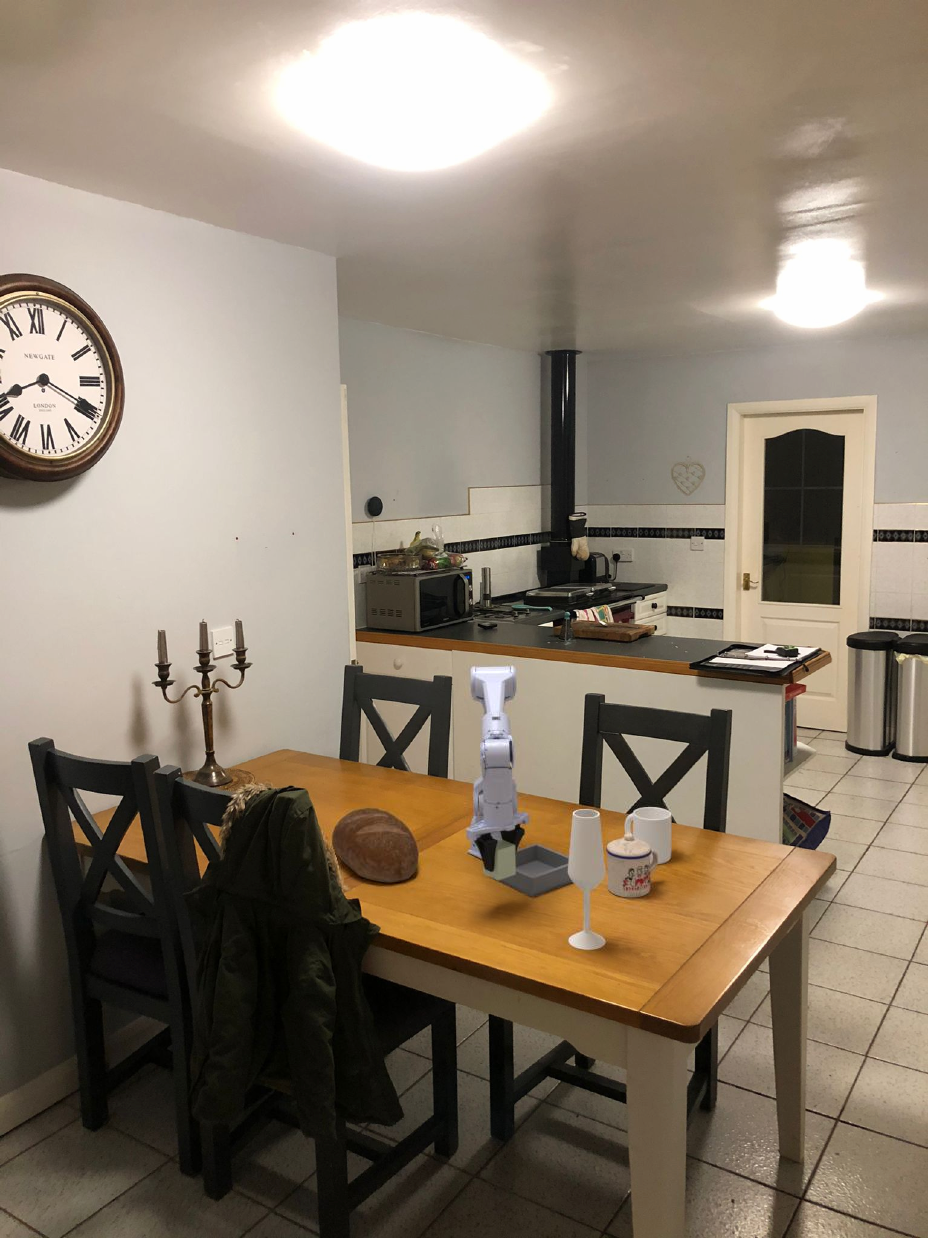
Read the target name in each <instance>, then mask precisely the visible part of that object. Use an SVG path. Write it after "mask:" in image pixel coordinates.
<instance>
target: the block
mask: <svg viewBox="0 0 928 1238" xmlns="http://www.w3.org/2000/svg"><path fill="white" fill-rule="evenodd" d="M482 869H483V870H482V872H483V874H484V875H486V876H487V877H488V878H490V877H492V878H491V879H493V878H494V879H493V880H495V879H496V880H495V881H497V880H501V879H504V878H507V877H510V876H513V875H515V874H516V865H515V845H514V844H512V843H509V842H507V841H504V840H502V839H498V843H497V846H496V850H495V866H494V871H492V872H490V871H488V870H486V869H485V868H484V864H483V863H482Z"/></svg>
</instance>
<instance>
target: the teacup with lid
mask: <svg viewBox="0 0 928 1238" xmlns="http://www.w3.org/2000/svg"><path fill="white" fill-rule="evenodd" d="M605 851H606V852H607V855H606V856H607V862H606V863H607V866H606V868H607V870H606V871H607V874H606V875H607V881H606V882H607V885H606V886H607V889H608V891H609V892H610V893H612V894H613V895H616V896H618V897H621V898H632V899H633V898H639V897H644V896H646V895H647V894H649V892H650V891H651V874H652V873H653V872H654V871H655V870H656V868H657V865H658V864H657V863H658V854H657V852H656V851H654V850H652V849H651V847H650V846H649V845H648V844H647V843H646V842H643V841H640V840H638V839H636V838H634V836H633V833H632V834H630V833H627V834H626V833H625V834H624V835H623V837H622V838H619V839H615V840H612V841H610V842H609V843H608V844H607V845H606V848H605ZM650 854H653V861H652V864H650Z"/></svg>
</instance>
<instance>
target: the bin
mask: <svg viewBox="0 0 928 1238" xmlns="http://www.w3.org/2000/svg"><path fill="white" fill-rule="evenodd" d="M568 863H569V855H566V854H564V853H562V852H559V851H557V850H554V849H552V848H549V847H546V846H544V845H542V844H539V843H537V842H536V843H533V844H531V845H527V846H525V847H522V848H517V852H516V855H515V865H516V874H515V875H513V876H510V877H507V878H504V879H501V880H496V879H494V878H492V877H489V878H491V879H493V880H495V881H497V882H499V883H501V884H503V885H505V886H507V887H509V888H512V889H514V890H517V892H521V893H523V894H524V895H527V896H528V897H531V898H536V897H538V896H541V895H543V894H545V893H549V892H551V891H553V890H556V889H559V888H561V887H564V886H567V885H569V884H572V883H573V882H572V880H571V879H570V877H569V875H568ZM573 884H574V883H573Z"/></svg>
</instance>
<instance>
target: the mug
mask: <svg viewBox="0 0 928 1238" xmlns="http://www.w3.org/2000/svg"><path fill="white" fill-rule="evenodd" d="M631 826H632V830H631ZM624 832H625V834H627V833H630V834H633V836H634V838H636V839H638V840H640V841H643V842H646V843H647V844H648V845H649V846H650V847H651V849H652V850H654V851H656V852H657V854H658V863H657V865H661V864H665V863H667V862H669V861H670V859H671V858H672V813H671V811H669V810H668V809H666V808H661V807H656V806H654V807H652V806H648V807H647V806H646V807H645V806H644V807H639V808H637V809H634V810H633V812H632V813H630V814H628V816H627V817H626V819H625V821H624ZM652 861H653V854H650V865H651V864H652Z"/></svg>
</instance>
